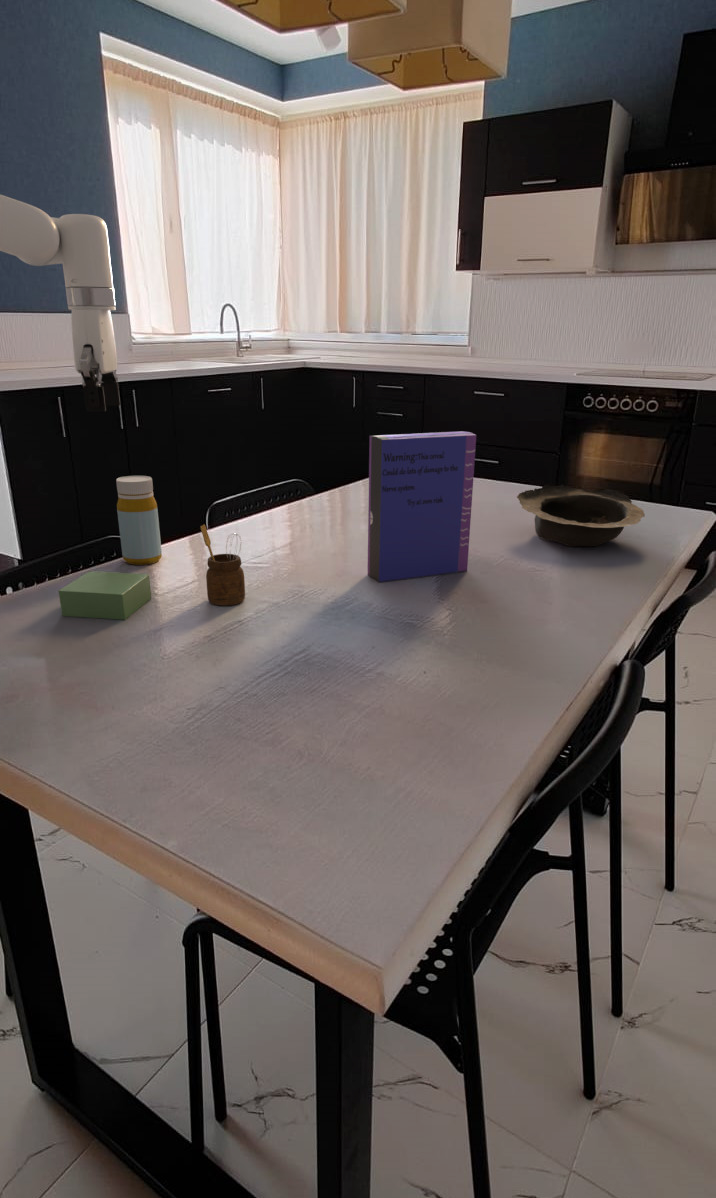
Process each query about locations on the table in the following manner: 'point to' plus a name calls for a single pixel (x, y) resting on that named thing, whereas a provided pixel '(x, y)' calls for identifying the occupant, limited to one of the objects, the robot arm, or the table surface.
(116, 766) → the table surface
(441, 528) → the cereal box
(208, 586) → the utensil holder
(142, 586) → the green block
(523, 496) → the stone bowl
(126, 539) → the bottle
